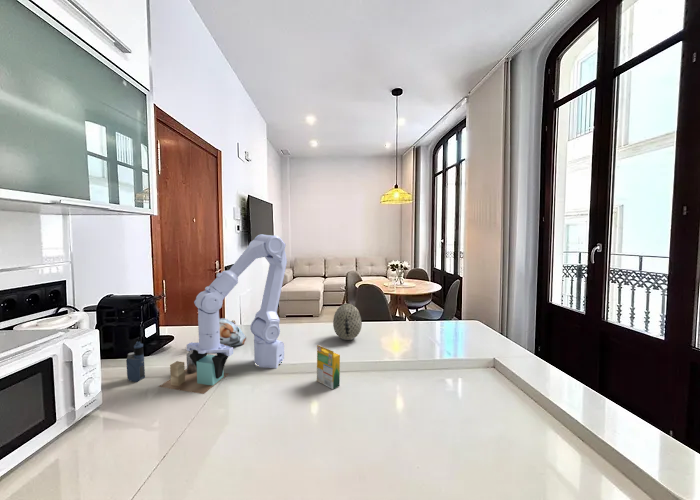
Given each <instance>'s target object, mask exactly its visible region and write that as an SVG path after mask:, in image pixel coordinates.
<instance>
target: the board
mask: <svg viewBox="0 0 700 500" xmlns="http://www.w3.org/2000/svg"><path fill="white" fill-rule="evenodd" d="M229 375H230V373H228V372H224V377H223V378H222V379H221V380H219V381H218V382H217V383H215V384H214V385H213V386H212V385H205V384H199V383H197V372H196V373H193V374H188V373H187V368H186V369H185V382H184V383H182V384H181V385H179V386H175V385H171V378H170V379H168V380H166V381H165V382H163V383H162V384H160V385H158V386H157V387H159V388H165V389H171V390H177V391H183V392H188V393H197V394H202V395H205V394H206V393H207V392H208V391H210V390H211V389H212V388H214V387H215V386H216V385H217V384H218V383H220V382H221V381H222V380H224V379H225V378H226V377H228V376H229Z"/></svg>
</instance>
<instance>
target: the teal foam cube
mask: <svg viewBox="0 0 700 500" xmlns="http://www.w3.org/2000/svg"><path fill="white" fill-rule="evenodd" d="M216 355H217V354H216ZM216 355H215V354H210V353H209V354H208V353H207V356H205V357H203V358H202V359H200V360H198V361H197V383H199V384H205V385H212V386H213V385H214V384H215V383H217V382H218V381H219V380H221V379H222V378H223V377H224V373H225V372H224V369H225V368H224V369H223V373H222V376H221V377H220V378H218V379H217V378H216V376H215V366H214V363H213V360H212V357H214V356H216ZM223 379H224V378H223ZM223 379H222V380H223ZM222 380H221V381H222ZM218 383H219V382H218ZM218 383H217V384H218ZM213 387H214V386H213Z"/></svg>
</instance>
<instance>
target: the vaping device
mask: <svg viewBox="0 0 700 500" xmlns="http://www.w3.org/2000/svg"><path fill="white" fill-rule="evenodd" d="M125 360H126V378H127V380H128V381H129V382H134V383H135V382H136V383H139V382H140V381H141V380H143V379H145V378H146V373H145V372H146V371H145V370H146V369H145V356H144V343H141V341H136V343H135V344H134V345H133V352H129V353H127V357H126V359H125Z"/></svg>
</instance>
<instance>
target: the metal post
mask: <svg viewBox="0 0 700 500" xmlns="http://www.w3.org/2000/svg"><path fill="white" fill-rule="evenodd" d="M192 352H193V351H188V352H187V353H186V369H187V373H188V374H193V373H196V372H197V368H196V366H195V364H194V362H193V361H192V359H191V358H190V354H192Z"/></svg>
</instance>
